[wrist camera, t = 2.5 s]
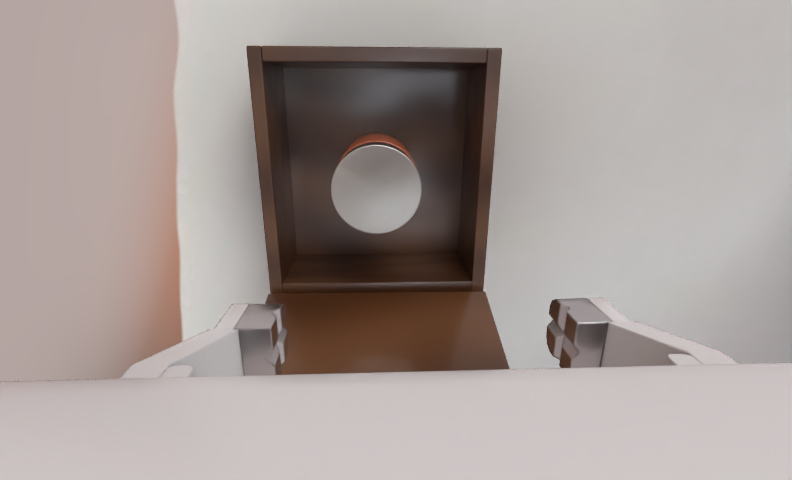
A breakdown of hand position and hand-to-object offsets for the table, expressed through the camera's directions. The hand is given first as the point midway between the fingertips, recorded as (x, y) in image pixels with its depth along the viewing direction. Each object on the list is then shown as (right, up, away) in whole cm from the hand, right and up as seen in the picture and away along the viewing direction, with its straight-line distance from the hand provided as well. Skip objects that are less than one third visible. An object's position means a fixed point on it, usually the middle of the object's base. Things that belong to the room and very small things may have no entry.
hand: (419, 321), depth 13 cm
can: (-2, +8, +22) cm, 23 cm away
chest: (-2, +9, +22) cm, 24 cm away
